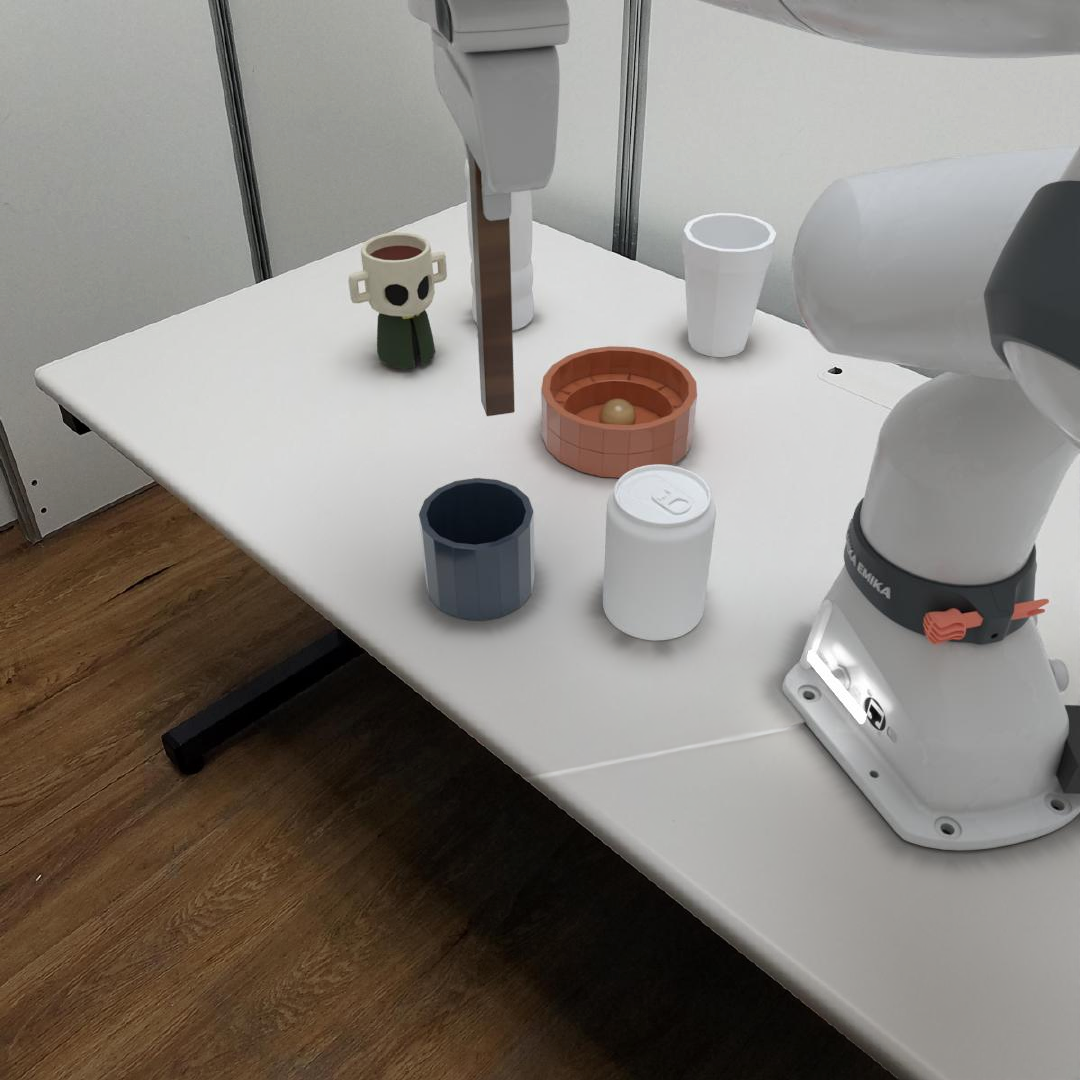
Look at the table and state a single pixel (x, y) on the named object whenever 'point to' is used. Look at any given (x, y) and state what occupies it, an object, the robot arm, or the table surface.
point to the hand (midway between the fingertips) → (490, 205)
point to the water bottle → (512, 255)
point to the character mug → (400, 294)
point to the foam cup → (724, 279)
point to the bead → (617, 413)
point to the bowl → (617, 374)
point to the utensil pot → (478, 548)
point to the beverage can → (657, 551)
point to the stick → (492, 303)
